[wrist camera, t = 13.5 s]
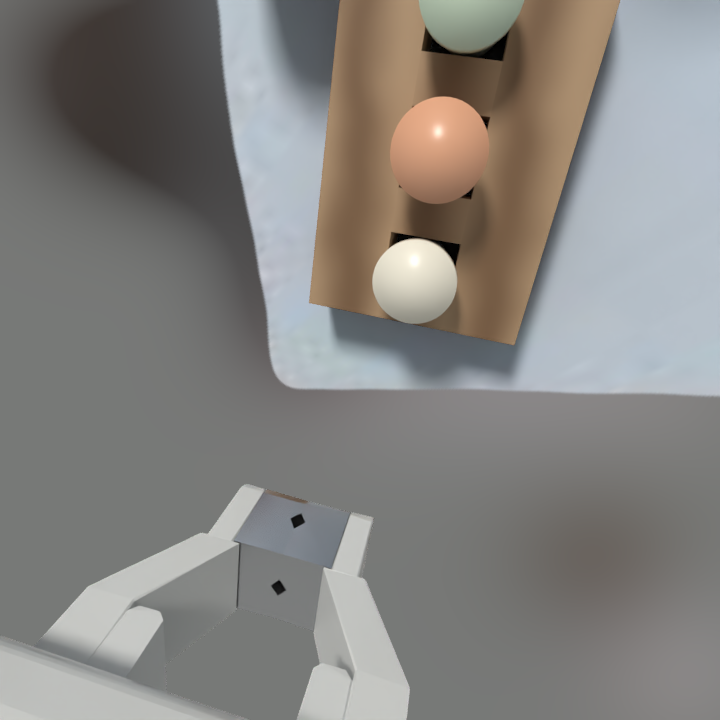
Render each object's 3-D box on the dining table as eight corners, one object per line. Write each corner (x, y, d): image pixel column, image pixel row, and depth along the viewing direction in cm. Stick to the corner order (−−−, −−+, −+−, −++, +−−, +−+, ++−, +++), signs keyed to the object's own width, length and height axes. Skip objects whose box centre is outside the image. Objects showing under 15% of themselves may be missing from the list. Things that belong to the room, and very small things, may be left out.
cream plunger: (466, 232, 36) (466, 249, 29) (450, 301, 38) (446, 331, 32) (395, 220, 37) (379, 233, 30) (384, 288, 39) (366, 314, 32)
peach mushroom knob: (493, 116, 32) (501, 104, 25) (473, 201, 34) (475, 211, 27) (413, 105, 32) (399, 89, 26) (399, 189, 35) (382, 195, 28)
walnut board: (614, -34, 29) (641, -69, 24) (508, 324, 39) (514, 345, 34) (366, -58, 31) (349, -95, 27) (326, 287, 41) (309, 302, 37)
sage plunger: (526, -24, 29) (543, -79, 23) (502, 78, 32) (511, 55, 25) (438, -33, 30) (430, -89, 23) (421, 67, 32) (409, 43, 26)
